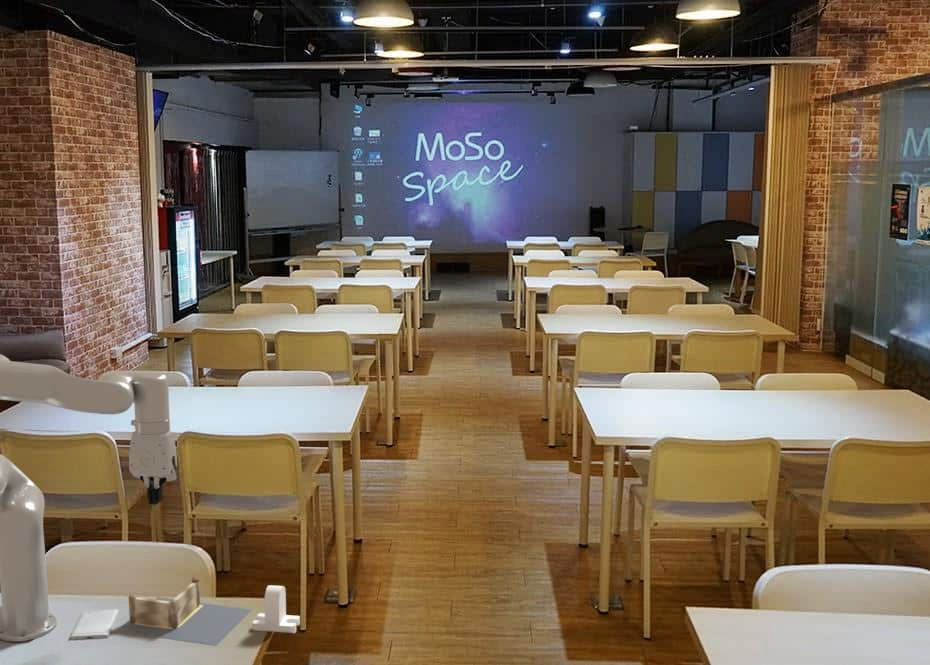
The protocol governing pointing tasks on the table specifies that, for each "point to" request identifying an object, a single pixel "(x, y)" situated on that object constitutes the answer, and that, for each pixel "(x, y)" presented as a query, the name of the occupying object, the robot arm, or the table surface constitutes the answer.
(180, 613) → the fence swing panel
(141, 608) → the fence fixed section
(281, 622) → the cable organizer
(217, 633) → the card
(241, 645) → the table surface
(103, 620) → the hard drive
